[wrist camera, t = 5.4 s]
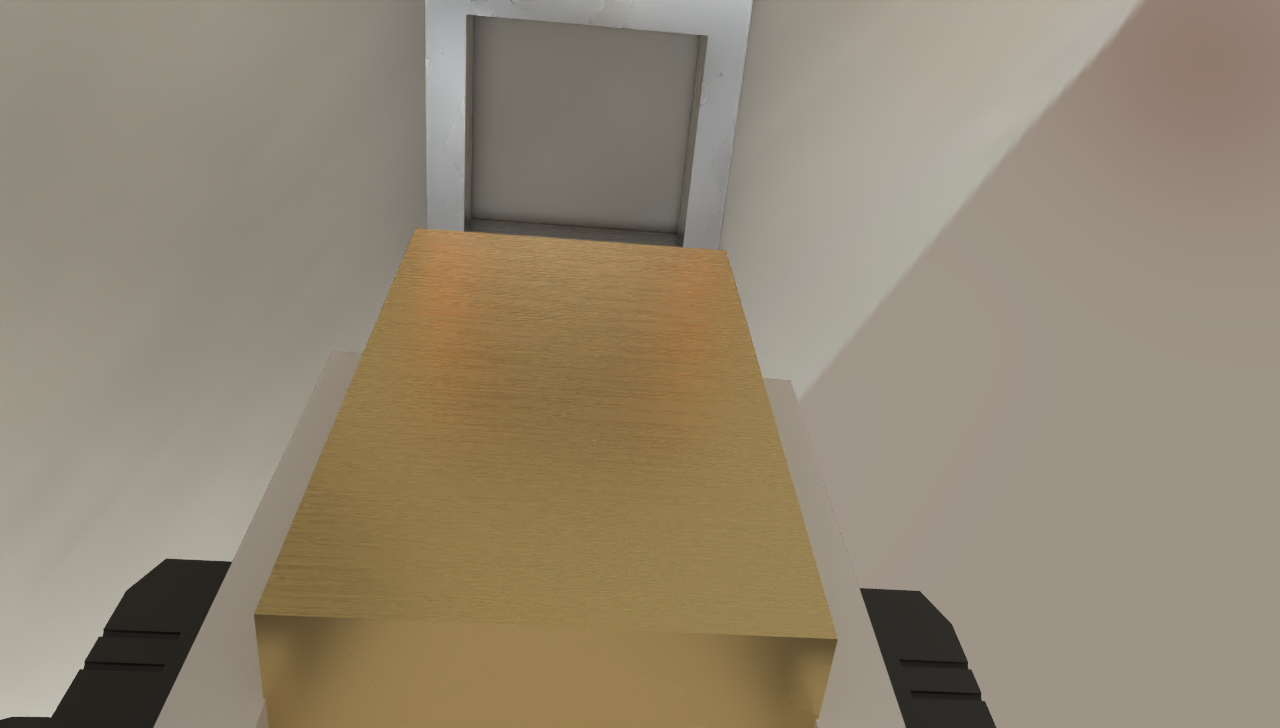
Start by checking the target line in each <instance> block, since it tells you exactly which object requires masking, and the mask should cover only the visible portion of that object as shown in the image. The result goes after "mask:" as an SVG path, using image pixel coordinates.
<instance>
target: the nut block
mask: <svg viewBox="0 0 1280 728" xmlns="http://www.w3.org/2000/svg"><path fill="white" fill-rule="evenodd" d="M254 621H255V630H256V639H257V647H258V656H259V665H260V674H261V683H262V692H263V699H266V706H267V715H268V724H269V728H814V725H815V721H816V719H819V715H820V711H821V707H822V702H823V698H824V694H825V690H826V686H827V682H828V678H829V674H830V670H831V666H832V661H833V657H834V653H835V649H836V645H837V641H838V638H837V634H836V631H835V627H834V624H833V620H832V617H831V613H830V610H829V606H828V603H827V599H826V596H825V592H824V589H823V586H822V582H821V579H820V575H819V572H818V568H817V565H816V561H815V558H814V554H813V551H812V547H811V544H810V540H809V537H808V534H807V530H806V527H805V523H804V520H803V516H802V513H801V509H800V506H799V502H798V499H797V495H796V492H795V488H794V485H793V482H792V478H791V475H790V471H789V468H788V464H787V461H786V457H785V454H784V450H783V447H782V443H781V440H780V436H779V433H778V430H777V426H776V423H775V419H774V416H773V412H772V409H771V405H770V402H769V398H768V395H767V391H766V388H765V384H764V381H763V378H762V374H761V371H760V367H759V364H758V360H757V357H756V353H755V350H754V346H753V343H752V339H751V336H750V332H749V329H748V326H747V322H746V319H745V315H744V312H743V308H742V305H741V301H740V298H739V294H738V291H737V287H736V284H735V280H734V277H733V273H732V270H731V267H730V263H729V260H728V256H727V253H726V250H714V249H700V248H686V247H672V246H658V245H644V244H630V243H616V242H602V241H588V240H574V239H560V238H546V237H532V236H518V235H505V234H491V233H477V232H463V231H449V230H435V229H421V228H415V231H414V233H413V236H412V238H411V240H410V243H409V245H408V247H407V250H406V252H405V255H404V257H403V259H402V262H401V264H400V267H399V269H398V271H397V274H396V276H395V278H394V281H393V283H392V286H391V288H390V290H389V293H388V295H387V298H386V300H385V302H384V305H383V307H382V309H381V312H380V314H379V317H378V319H377V321H376V324H375V326H374V329H373V331H372V333H371V336H370V338H369V340H368V343H367V345H366V348H365V350H364V352H363V355H362V357H361V360H360V362H359V364H358V367H357V369H356V371H355V374H354V376H353V379H352V381H351V383H350V386H349V388H348V391H347V393H346V395H345V398H344V400H343V402H342V405H341V407H340V410H339V412H338V414H337V417H336V419H335V422H334V424H333V426H332V429H331V431H330V433H329V436H328V438H327V441H326V443H325V445H324V448H323V450H322V453H321V455H320V457H319V460H318V462H317V464H316V467H315V469H314V472H313V474H312V476H311V479H310V481H309V484H308V486H307V488H306V491H305V493H304V495H303V498H302V500H301V503H300V505H299V507H298V510H297V512H296V515H295V517H294V519H293V522H292V524H291V526H290V529H289V531H288V534H287V536H286V538H285V541H284V543H283V546H282V548H281V550H280V553H279V555H278V557H277V560H276V562H275V565H274V567H273V569H272V572H271V574H270V577H269V579H268V581H267V584H266V586H265V588H264V591H263V593H262V596H261V598H260V600H259V603H258V605H257V608H256V610H255V612H254Z"/></svg>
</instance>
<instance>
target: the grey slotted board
mask: <svg viewBox="0 0 1280 728" xmlns="http://www.w3.org/2000/svg"><path fill="white" fill-rule="evenodd" d="M752 4H753V0H425V51H426V195H427V229H435V230H449V231H463V232H477V233H491V234H505V235H518V236H532V237H546V238H560V239H574V240H588V241H602V242H616V243H630V244H644V245H658V246H672V247H686V248H700V249H714V250H719V245H720V237H721V230H722V223H723V216H724V208H725V201H726V194H727V186H728V179H729V172H730V165H731V157H732V150H733V143H734V135H735V128H736V121H737V114H738V106H739V99H740V92H741V84H742V77H743V70H744V63H745V55H746V48H747V41H748V33H749V26H750V19H751V12H752ZM474 15H479V16H490V17H502V18H513V19H524V20H536V21H547V22H558V23H570V24H581V25H592V26H604V27H615V28H626V29H638V30H649V31H660V32H672V33H683V34H694V35H700V43H699V52H698V60H697V69H696V78H695V86H694V95H693V104H692V112H691V121H690V129H689V138H688V147H687V155H686V164H685V173H684V181H683V190H682V198H681V207H680V216H679V224H678V233H677V234H673V233H659V232H646V231H632V230H619V229H605V228H592V227H578V226H564V225H551V224H537V223H524V222H510V221H496V220H483V219H471V183H472V115H473V46H474Z"/></svg>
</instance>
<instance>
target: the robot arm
mask: <svg viewBox="0 0 1280 728" xmlns="http://www.w3.org/2000/svg"><path fill="white" fill-rule="evenodd" d="M362 355H363V354H362V353H346V352H332V354H331V356H330V358H329V360H328V362H327V364H326V366H325V368H324V370H323V373H322V375H321V377H320V379H319V381H318V383H317V385H316V387H315V389H314V391H313V394H312V396H311V398H310V400H309V402H308V404H307V406H306V408H305V410H304V412H303V415H302V417H301V419H300V421H299V423H298V425H297V427H296V429H295V431H294V433H293V436H292V438H291V440H290V442H289V444H288V446H287V448H286V450H285V452H284V454H283V456H282V459H281V461H280V463H279V465H278V467H277V469H276V471H275V473H274V475H273V477H272V480H271V482H270V484H269V486H268V488H267V490H266V492H265V494H264V496H263V498H262V501H261V503H260V505H259V507H258V509H257V511H256V513H255V515H254V517H253V519H252V522H251V524H250V526H249V528H248V530H247V532H246V534H245V536H244V538H243V540H242V543H241V545H240V547H239V549H238V551H237V553H236V555H235V557H234V559H233V561H232V562H225V561H204V560H182V559H165V560H164V561H163V562H162V563H160V564H159V565H158V566H157V567H155V568H154V569H153V570H152V571H150V572H149V573H148V574H147V575H145V576H144V577H143V578H142V579H140V580H139V581H138V582H137V583H136V584H134V585H133V586H132V587H131V588H129V589H128V590H127V591H126V592H125V594H124V596H123V597H122V599H121V601H120V603H119V604H118V606H117V608H116V609H115V611H114V613H113V614H112V616H111V618H110V619H109V621H108V623H107V624H106V626H105V628H104V633H103V637H99V638H98V640H97V641H96V643H95V645H94V646H93V648H92V650H91V651H90V653H89V655H88V657H87V658H86V660H85V666H84V669H83V670H82V669H80V670H79V672H78V673H77V675H76V677H75V678H74V680H73V682H72V684H71V685H70V687H69V689H68V690H67V692H66V694H65V695H64V697H63V699H62V700H61V702H60V704H59V705H58V707H57V709H56V711H55V712H54V714H53V716H52V717H51V718H49V717H10V718H6V719H2V720H0V728H269V724H268V715H267V706H266V699H263V692H262V683H261V674H260V665H259V656H258V647H257V639H256V630H255V621H254V612H255V610H256V608H257V605H258V603H259V600H260V598H261V596H262V593H263V591H264V588H265V586H266V584H267V581H268V579H269V577H270V574H271V572H272V569H273V567H274V565H275V562H276V560H277V557H278V555H279V553H280V550H281V548H282V546H283V543H284V541H285V538H286V536H287V534H288V531H289V529H290V526H291V524H292V522H293V519H294V517H295V515H296V512H297V510H298V507H299V505H300V503H301V500H302V498H303V495H304V493H305V491H306V488H307V486H308V484H309V481H310V479H311V476H312V474H313V472H314V469H315V467H316V464H317V462H318V460H319V457H320V455H321V453H322V450H323V448H324V445H325V443H326V441H327V438H328V436H329V433H330V431H331V429H332V426H333V424H334V422H335V419H336V417H337V414H338V412H339V410H340V407H341V405H342V402H343V400H344V398H345V395H346V393H347V391H348V388H349V386H350V383H351V381H352V379H353V376H354V374H355V371H356V369H357V367H358V364H359V362H360V360H361V357H362ZM763 381H764V384H765V388H766V391H767V395H768V398H769V402H770V405H771V409H772V412H773V416H774V419H775V423H776V426H777V430H778V433H779V436H780V440H781V443H782V447H783V450H784V454H785V457H786V461H787V464H788V468H789V471H790V475H791V478H792V482H793V485H794V488H795V492H796V495H797V499H798V502H799V506H800V509H801V513H802V516H803V520H804V523H805V527H806V530H807V534H808V537H809V540H810V544H811V547H812V551H813V554H814V558H815V561H816V565H817V568H818V572H819V575H820V579H821V582H822V586H823V589H824V592H825V596H826V599H827V603H828V606H829V610H830V613H831V617H832V620H833V624H834V627H835V631H836V634H837V638H838V641H837V645H836V649H835V653H834V657H833V661H832V666H831V670H830V674H829V678H828V682H827V686H826V690H825V694H824V698H823V702H822V707H821V711H820V715H819V719H816V721H815V725H814V728H996V726H995V724H994V722H993V719H992V717H991V714H990V712H989V710H988V707H987V705H986V703H985V701H982V700H981V691H980V689H979V687H978V684H977V682H976V680H975V677H974V675H973V673H972V670H969V669H968V661H967V659H966V656H965V654H964V652H963V649H962V647H961V645H960V642H959V640H958V638H957V635H956V634H955V631H954V628H953V626H952V624H951V623H950V622H949V621H948V620H947V619H946V618H945V617H944V616H943V615H942V614H941V613H940V612H939V611H938V610H937V609H936V608H935V607H934V605H933V604H932V603H931V602H930V601H929V600H928V599H927V598H926V597H925V596H924V595H923V594H922V593H921V592H920V591H906V590H885V589H864V588H859V585H858V582H857V579H856V576H855V573H854V570H853V567H852V565H851V561H850V559H849V555H848V552H847V549H846V546H845V544H844V540H843V537H842V534H841V531H840V528H839V526H838V523H837V519H836V516H835V514H834V510H833V508H832V505H831V502H830V499H829V495H828V492H827V489H826V486H825V484H824V480H823V477H822V474H821V471H820V468H819V465H818V462H817V459H816V456H815V453H814V450H813V447H812V445H811V441H810V438H809V435H808V432H807V430H806V426H805V423H804V420H803V417H802V415H801V412H800V408H799V405H798V402H797V399H796V396H795V393H794V390H793V387H792V384H791V381H790V380H778V379H763Z"/></svg>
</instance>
